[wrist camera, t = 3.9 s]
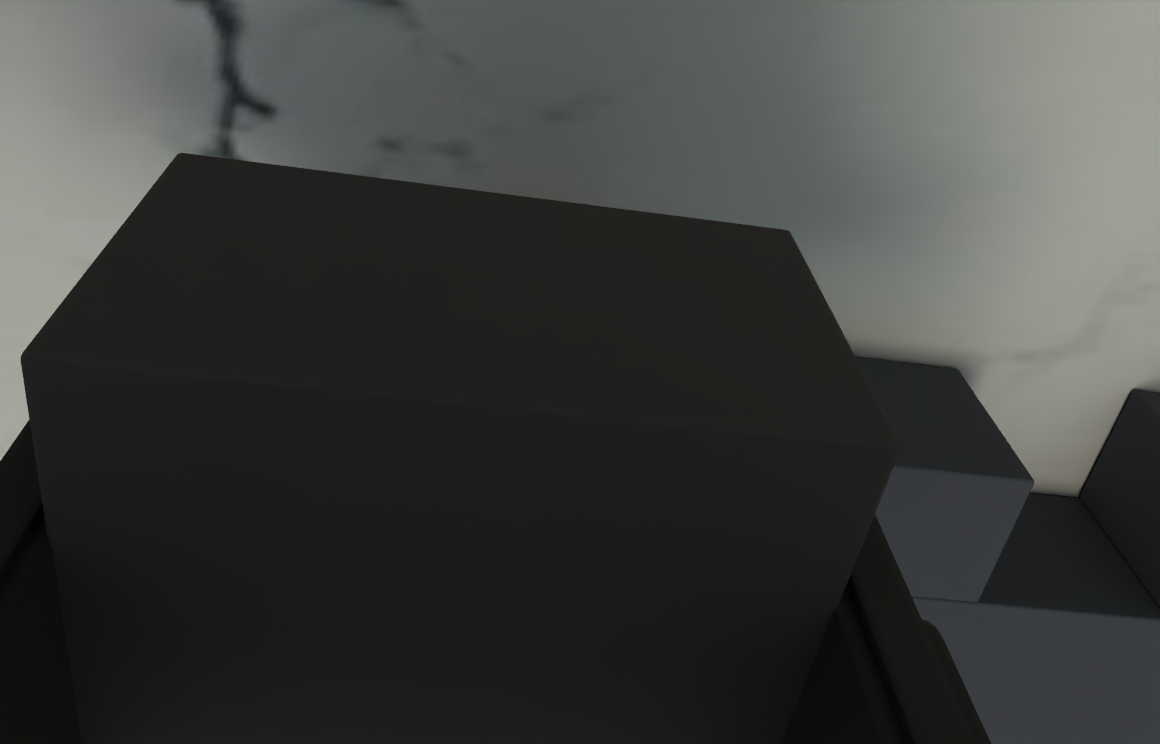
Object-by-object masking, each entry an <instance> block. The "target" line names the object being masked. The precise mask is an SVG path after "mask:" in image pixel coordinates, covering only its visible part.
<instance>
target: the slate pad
mask: <svg viewBox="0 0 1160 744" xmlns="http://www.w3.org/2000/svg"><path fill="white" fill-rule="evenodd" d="M856 359H857V361H858V363H859V365H860V367H861V369H862V371H863V373H864V375H865V377H866V379H867V380H868V382H869V384H870V386H871V388H872V390H873V392H874V394H875V396H876V398H877V400H878V402H879V403H880V405H881V407H882V409H883V411H884V413H885V415H886V417H887V419H888V421H889V423H890V425H891V426H892V428H893V430H894V432H895V434H896V436H897V438H898V440H899V442H900V447H901V448H900V452H899V454H898V457H897V459H896V462H895V464H894V467H893V469H892V472H891V474H890V477H889V479H888V482H887V484H886V487H885V489H884V492H883V494H882V497H881V500H880V502H879V505H878V507H877V510H876V512H875V515H876V517H877V519H878V522H879V524H880V526H881V528H882V531H883V533H884V535H885V537H886V540H887V542H888V544H889V546H890V549H891V551H892V553H893V555H894V558H895V560H896V562H897V564H898V567H899V569H900V571H901V574H902V576H903V578H904V580H905V583H906V585H907V587H908V589H909V592H910V594H911V596H912V598H913V601H914V603H915V605H916V607H917V610H918V612H919V614H920V616H921V619H922V620H927V621H929V622H930V623H931V624H933V625H934V626H935V627H936V628H937V629H938V631H939V633H940V634H941V636H942V637H943V639H944V641H945V643H946V646H947V648H948V650H949V652H950V654H951V657H952V659H953V661H954V663H955V665H956V668H957V670H958V672H959V674H960V676H961V678H962V681H963V683H964V685H965V687H966V689H967V692H968V694H969V696H970V698H971V700H972V703H973V705H974V707H975V709H976V711H977V714H978V716H979V718H980V720H981V722H982V724H983V727H984V729H985V731H986V733H987V735H988V738H989V740H990V742H991V744H1160V393H1151V392H1143V391H1133V392H1132V393H1131V395H1130V397H1129V399H1128V401H1127V403H1126V405H1125V407H1124V409H1123V411H1122V413H1121V415H1120V417H1119V419H1118V421H1117V423H1116V425H1115V427H1114V429H1113V431H1112V433H1111V435H1110V437H1109V439H1108V441H1107V443H1106V445H1105V447H1104V449H1103V451H1102V453H1101V455H1100V457H1099V459H1098V461H1097V463H1096V465H1095V467H1094V469H1093V471H1092V473H1091V475H1090V477H1089V479H1088V481H1087V483H1086V485H1085V486H1084V488H1083V490H1082V492H1081V494H1080V499H1077V498H1067V497H1058V496H1048V495H1039V494H1030V491H1031V488H1032V486H1033V484H1034V480H1033V478H1032V477H1031V476H1030V474H1029V473H1028V471H1027V470H1026V468H1025V467H1024V465H1023V464H1022V462H1021V461H1020V459H1019V458H1018V457H1017V455H1016V454H1015V452H1014V451H1013V449H1012V448H1011V446H1010V445H1009V443H1008V442H1007V440H1006V439H1005V438H1004V436H1003V435H1002V433H1001V432H1000V430H999V429H998V427H997V426H996V424H995V423H994V421H993V420H992V419H991V417H990V416H989V414H988V413H987V411H986V410H985V408H984V407H983V405H982V404H981V402H980V401H979V400H978V398H977V397H976V395H975V394H974V392H973V391H972V389H971V388H970V386H969V385H968V383H967V382H966V381H965V379H964V378H963V376H962V375H961V373H960V372H959V370H957V369H951V368H943V367H934V366H926V365H918V364H909V363H901V362H893V361H884V360H876V359H868V358H859V357H856Z"/></svg>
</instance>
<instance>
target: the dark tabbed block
mask: <svg viewBox="0 0 1160 744" xmlns="http://www.w3.org/2000/svg"><path fill="white" fill-rule="evenodd" d="M21 365H22V372H23V378H24V385H25V392H26V398H27V405H28V412H29V418H30V425H31V431H32V438H33V445H34V451H35V458H36V465H37V471H38V478H39V484H40V491H41V498H42V504H43V511H44V517H45V524H46V531H47V537H48V544H49V546H51V547H52V551H53V558H54V564H55V571H56V578H57V584H58V591H59V598H60V605H61V611H62V618H63V625H64V631H65V638H66V645H67V651H68V658H69V665H70V672H71V678H72V685H73V692H74V698H75V705H76V712H77V719H78V725H79V732H80V739H81V744H781V743H782V740H783V738H784V735H785V733H786V730H787V728H788V725H789V723H790V720H791V718H792V715H793V713H794V710H795V707H796V705H797V702H798V700H799V697H800V695H801V692H802V690H803V687H804V685H805V682H806V680H807V677H808V675H809V672H810V670H811V667H812V665H813V662H814V660H815V657H816V654H817V652H818V649H819V647H820V644H821V642H822V639H823V637H824V634H825V632H826V629H827V627H828V624H829V622H830V619H831V617H832V614H833V612H834V610H836V609H837V608H838V605H839V603H840V600H841V597H842V595H843V592H844V590H845V587H846V585H847V582H848V580H849V577H850V575H851V572H852V570H853V567H854V565H855V562H856V560H857V557H858V555H859V552H860V550H861V547H862V545H863V542H864V540H865V537H866V535H867V532H868V530H869V527H870V525H871V522H872V520H873V517H874V515H875V512H876V510H877V507H878V505H879V502H880V500H881V497H882V494H883V492H884V489H885V487H886V484H887V482H888V479H889V477H890V474H891V472H892V469H893V467H894V464H895V462H896V459H897V457H898V454H899V452H900V448H901V447H900V442H899V440H898V438H897V436H896V434H895V432H894V430H893V428H892V426H891V425H890V423H889V421H888V419H887V417H886V415H885V413H884V411H883V409H882V407H881V405H880V403H879V402H878V400H877V398H876V396H875V394H874V392H873V390H872V388H871V386H870V384H869V382H868V380H867V379H866V377H865V375H864V373H863V371H862V369H861V367H860V365H859V363H858V361H857V359H856V357H855V356H854V354H853V352H852V350H851V348H850V346H849V344H848V342H847V340H846V338H845V336H844V334H843V333H842V331H841V329H840V327H839V325H838V323H837V321H836V319H835V317H834V315H833V313H832V311H831V310H830V308H829V306H828V304H827V302H826V300H825V298H824V296H823V294H822V292H821V290H820V289H819V287H818V285H817V283H816V281H815V279H814V277H813V275H812V273H811V271H810V269H809V267H808V266H807V264H806V262H805V260H804V258H803V256H802V254H801V252H800V250H799V248H798V246H797V244H796V243H795V241H794V239H793V237H792V235H791V233H790V232H789V231H788V230H782V229H774V228H767V227H759V226H751V225H743V224H735V223H727V222H719V221H712V220H704V219H696V218H688V217H680V216H672V215H665V214H657V213H649V212H641V211H633V210H625V209H618V208H610V207H602V206H594V205H586V204H578V203H571V202H563V201H555V200H547V199H539V198H531V197H523V196H516V195H508V194H500V193H492V192H484V191H476V190H469V189H461V188H453V187H445V186H437V185H429V184H422V183H414V182H406V181H398V180H390V179H382V178H374V177H367V176H359V175H351V174H343V173H335V172H327V171H320V170H312V169H304V168H296V167H288V166H280V165H273V164H265V163H257V162H249V161H241V160H233V159H225V158H218V157H210V156H202V155H194V154H186V153H179V154H177V155H176V157H175V158H174V159H173V161H172V162H171V163H170V164H169V166H168V167H167V168H166V170H165V171H164V172H163V173H162V175H161V176H160V177H159V179H158V180H157V181H156V182H155V184H154V185H153V186H152V188H151V189H150V190H149V191H148V193H147V194H146V195H145V197H144V198H143V199H142V200H141V202H140V203H139V204H138V206H137V207H136V208H135V209H134V211H133V212H132V213H131V215H130V216H129V217H128V218H127V220H126V221H125V222H124V224H123V225H122V226H121V227H120V229H119V230H118V231H117V233H116V234H115V235H114V236H113V238H112V239H111V240H110V241H109V243H108V244H107V245H106V247H105V248H104V249H103V250H102V252H101V253H100V254H99V256H98V257H97V258H96V259H95V261H94V262H93V263H92V265H91V266H90V267H89V268H88V270H87V271H86V272H85V274H84V275H83V276H82V277H81V279H80V280H79V281H78V283H77V284H76V285H75V286H74V288H73V289H72V290H71V292H70V293H69V294H68V295H67V297H66V298H65V299H64V301H63V302H62V303H61V304H60V306H59V307H58V308H57V310H56V311H55V312H54V313H53V315H52V316H51V317H50V319H49V320H48V321H47V322H46V324H45V325H44V326H43V328H42V329H41V330H40V331H39V333H38V334H37V335H36V336H35V338H34V339H33V340H32V342H31V343H30V344H29V345H28V347H27V348H26V349H25V351H24V352H23V353H22V356H21Z"/></svg>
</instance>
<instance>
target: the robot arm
mask: <svg viewBox="0 0 1160 744" xmlns="http://www.w3.org/2000/svg"><path fill="white" fill-rule="evenodd" d="M0 744H81V739H80V732H79V725H78V719H77V712H76V705H75V698H74V692H73V685H72V678H71V672H70V665H69V658H68V651H67V645H66V638H65V631H64V625H63V618H62V611H61V605H60V598H59V591H58V584H57V578H56V571H55V564H54V558H53V551H52V547H51V546H49V544H48V537H47V531H46V524H45V517H44V511H43V504H42V498H41V491H40V484H39V478H38V471H37V465H36V458H35V451H34V445H33V438H32V431H31V425H30V420H29V421H28V422H27V424H26V425H25V427H24V428H23V430H22V431H21V432H20V434H19V435H18V437H17V438H16V440H15V441H14V442H13V444H12V445H11V447H10V448H9V450H8V451H7V453H6V454H5V455H4V457H3V458H2V460H1V461H0ZM781 744H991V742H990V740H989V738H988V735H987V733H986V731H985V729H984V727H983V724H982V722H981V720H980V718H979V716H978V714H977V711H976V709H975V707H974V705H973V703H972V700H971V698H970V696H969V694H968V692H967V689H966V687H965V685H964V683H963V681H962V678H961V676H960V674H959V672H958V670H957V668H956V665H955V663H954V661H953V659H952V657H951V654H950V652H949V650H948V648H947V646H946V643H945V641H944V639H943V637H942V636H941V634H940V633H939V631H938V629H937V628H936V627H935V626H934V625H933V624H931V623H930V622H929V621H927V620H922V619H921V616H920V614H919V612H918V610H917V607H916V605H915V603H914V601H913V598H912V596H911V594H910V592H909V589H908V587H907V585H906V583H905V580H904V578H903V576H902V574H901V571H900V569H899V567H898V564H897V562H896V560H895V558H894V555H893V553H892V551H891V549H890V546H889V544H888V542H887V540H886V537H885V535H884V533H883V531H882V528H881V526H880V524H879V522H878V519H877V517H876V515H874V517H873V520H872V522H871V525H870V527H869V530H868V532H867V535H866V537H865V540H864V542H863V545H862V547H861V550H860V552H859V555H858V557H857V560H856V562H855V565H854V567H853V570H852V572H851V575H850V577H849V580H848V582H847V585H846V587H845V590H844V592H843V595H842V597H841V600H840V603H839V605H838V608H837V609H836V610H834V612H833V614H832V617H831V619H830V622H829V624H828V627H827V629H826V632H825V634H824V637H823V639H822V642H821V644H820V647H819V649H818V652H817V654H816V657H815V660H814V662H813V665H812V667H811V670H810V672H809V675H808V677H807V680H806V682H805V685H804V687H803V690H802V692H801V695H800V697H799V700H798V702H797V705H796V707H795V710H794V713H793V715H792V718H791V720H790V723H789V725H788V728H787V730H786V733H785V735H784V738H783V740H782V743H781Z"/></svg>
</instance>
